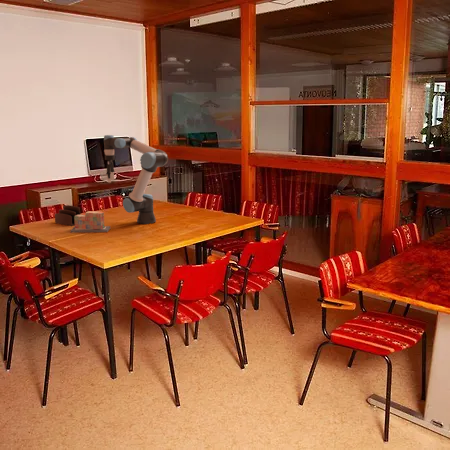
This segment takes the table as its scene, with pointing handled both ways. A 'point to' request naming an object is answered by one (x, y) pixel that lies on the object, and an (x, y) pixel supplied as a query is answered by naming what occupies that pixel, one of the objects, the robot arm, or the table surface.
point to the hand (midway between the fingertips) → (110, 181)
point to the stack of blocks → (90, 220)
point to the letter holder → (67, 215)
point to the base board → (105, 229)
